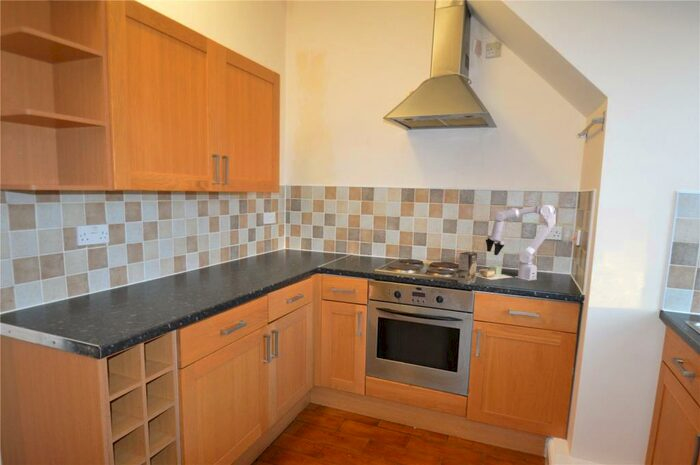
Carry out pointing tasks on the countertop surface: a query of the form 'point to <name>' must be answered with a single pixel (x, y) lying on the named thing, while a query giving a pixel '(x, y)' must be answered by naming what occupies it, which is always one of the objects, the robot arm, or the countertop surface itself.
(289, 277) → the countertop surface
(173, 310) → the countertop surface
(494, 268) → the green cube
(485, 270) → the beech base block
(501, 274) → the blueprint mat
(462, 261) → the coffee box
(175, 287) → the countertop surface
